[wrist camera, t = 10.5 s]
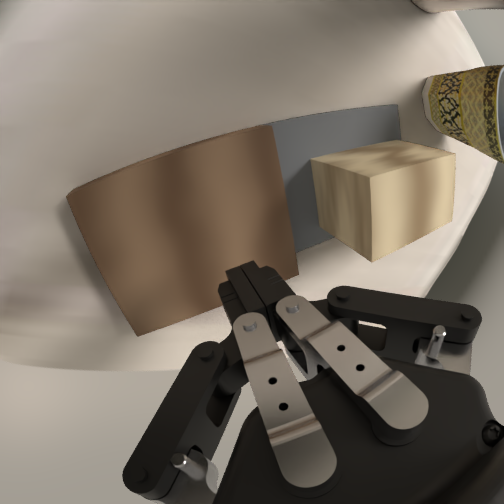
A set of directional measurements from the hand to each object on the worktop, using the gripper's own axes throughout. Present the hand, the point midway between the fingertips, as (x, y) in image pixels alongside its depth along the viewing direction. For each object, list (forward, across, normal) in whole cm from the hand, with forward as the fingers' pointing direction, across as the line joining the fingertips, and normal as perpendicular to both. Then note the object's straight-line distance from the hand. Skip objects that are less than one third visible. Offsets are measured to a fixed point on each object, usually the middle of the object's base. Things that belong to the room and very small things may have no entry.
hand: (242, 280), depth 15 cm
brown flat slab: (+8, +2, 0) cm, 8 cm away
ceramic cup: (+9, -28, -5) cm, 30 cm away
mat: (+8, -12, -1) cm, 15 cm away
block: (+8, -14, 0) cm, 16 cm away
